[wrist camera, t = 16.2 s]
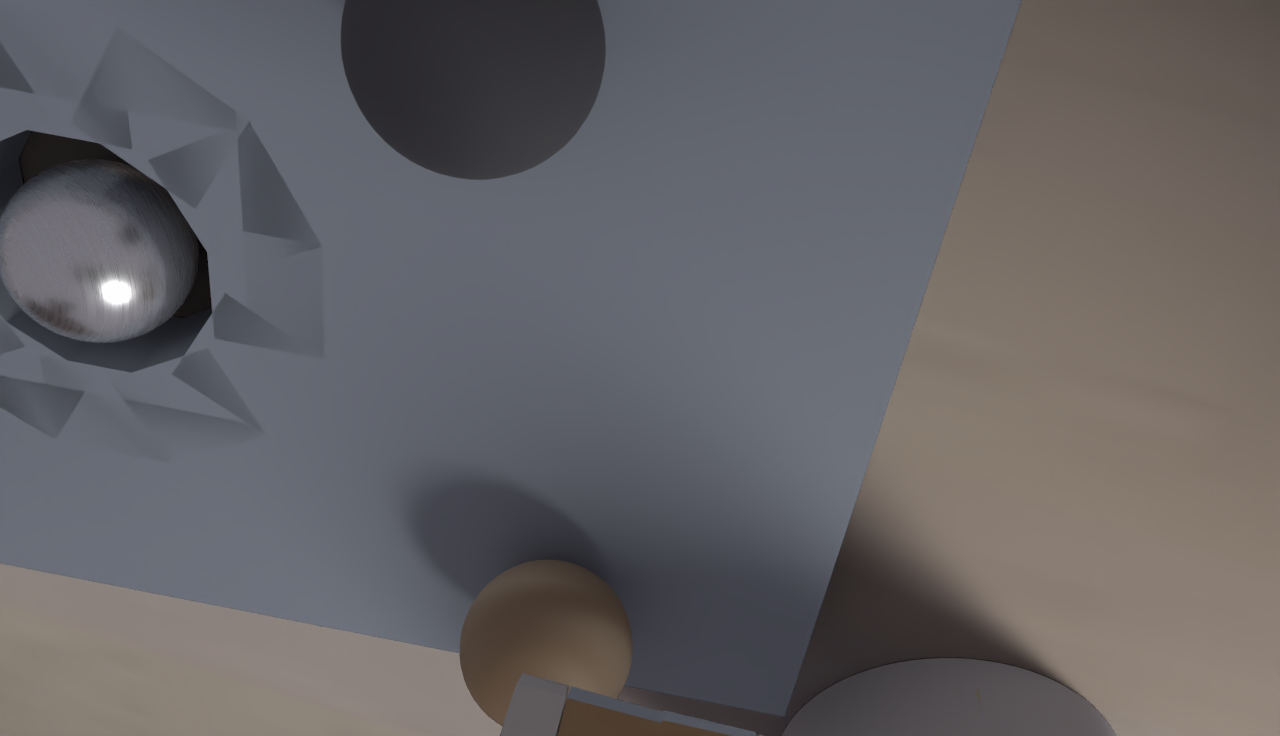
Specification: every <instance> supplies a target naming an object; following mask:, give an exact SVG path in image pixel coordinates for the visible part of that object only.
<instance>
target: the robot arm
mask: <svg viewBox="0 0 1280 736" xmlns="http://www.w3.org/2000/svg"><path fill="white" fill-rule="evenodd" d="M568 691H569V694H568ZM567 696H568V697H567ZM566 700H567V701H566ZM500 736H764V735H760V734H758V735H756V732H753V731H749V730H745V729H741V728H737V727H733V726H728V725H724V724H720V723H716V722H712V721H707V720H703V719H699V718H695V717H691V716H687V715H682V714H678V713H674V712H670V711H666V710H663V711H662V712H661V711H657V710H654V709H650V708H647V707H643V706H640V705H636V704H633V703H629V702H626V701H622V700H619V699H615V698H612V697H608V696H605V695H601V694H597V693H594V692H590V691H587V690H583V689H580V688H576V687H573V686H570V690H569V685H566V684H562V683H558V682H554V681H551V680H547V679H543V678H539V677H535V676H531V675H528V674H524V673H522V675H521V677H520V679H519V681H518V683H517V685H516V687H515V690H514V693H513V696H512V699H511V702H510V705H509V709H508V712H507V715H506V718H505V721H504V724H503V727H502V731H501V734H500Z"/></svg>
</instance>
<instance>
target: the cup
mask: <svg viewBox="0 0 1280 736" xmlns="http://www.w3.org/2000/svg"><path fill="white" fill-rule="evenodd" d="M782 736H1116V734H1115V732H1114V731H1113V729H1112V727H1111V726H1110V724H1109V723H1108V722H1107V720H1106V719H1105V718H1104V717H1103V716H1102V715H1101V713H1100V712H1099V711H1098V710H1097V709H1096V708H1095V707H1093V706H1092V705H1091V704H1090V703H1089V702H1088V701H1087V700H1085V699H1084V698H1082V697H1081V696H1080V695H1078V694H1077V693H1075V692H1074V691H1072V690H1071V689H1069V688H1067V687H1065V686H1064V685H1062V684H1060V683H1058V682H1056V681H1054V680H1052V679H1049V678H1047V677H1045V676H1042V675H1040V674H1037V673H1034V672H1032V671H1029V670H1025V669H1022V668H1018V667H1015V666H1011V665H1006V664H1002V663H996V662H991V661H984V660H975V659H962V658H933V659H920V660H911V661H905V662H898V663H894V664H889V665H884V666H881V667H877V668H873V669H870V670H867V671H864V672H861V673H858V674H856V675H853V676H851V677H848V678H846V679H844V680H842V681H840V682H838V683H836V684H834V685H832V686H831V687H829V688H827V689H825V690H824V691H822V692H821V693H820V694H818V695H817V696H815V697H814V698H813V699H811V700H810V701H809V702H808V703H807V704H805V705H804V706H803V707H802V708H801V709H800V710H799V711H798V712H797V714H796V715H795V716H794V717H793V718H792V720H791V721H790V722H789V724H788V725H787V727H786V729H785V730H784V732H783V734H782Z"/></svg>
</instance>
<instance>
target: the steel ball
mask: <svg viewBox="0 0 1280 736" xmlns="http://www.w3.org/2000/svg"><path fill="white" fill-rule="evenodd" d="M198 263H199V247H198V240H197V236H196V234H195V233H194V231H193V230H192V228H191V226H190V225H189V223H188V222H187V220H186V219H185V217H184V216H183V214H182V212H181V211H180V209H179V208H178V206H177V205H176V203H175V202H174V200H173V199H172V197H171V195H170V194H169V192H168V191H167V189H165V188H164V187H162V186H161V185H159V184H158V183H157V182H155V181H154V180H152V179H151V178H149V177H148V176H146V175H145V174H144V173H142V172H141V171H139V170H138V169H136V168H135V167H133V166H130V165H127V164H124V163H120V162H116V161H111V160H102V159H81V160H75V161H69V162H65V163H61V164H58V165H55V166H52V167H50V168H48V169H46V170H44V171H42V172H40V173H38V174H37V175H35V176H34V177H32V178H31V179H29V180H28V181H27V182H26V183H25V184H23V185H22V186H21V187H20V188H19V189H18V190H17V192H16V193H15V194H14V195H13V196H12V198H11V199H10V200H9V202H8V204H7V206H6V207H5V209H4V211H3V213H2V215H1V218H0V276H1V278H2V281H3V283H4V285H5V287H6V289H7V291H8V292H9V294H10V296H11V297H12V298H13V300H14V301H15V302H16V304H17V305H18V306H19V307H20V308H21V309H22V310H23V311H24V312H25V313H26V314H27V315H28V316H29V317H31V318H32V319H33V320H34V321H36V322H37V323H39V324H40V325H42V326H43V327H45V328H47V329H49V330H51V331H52V332H54V333H57V334H60V335H62V336H65V337H68V338H71V339H75V340H80V341H85V342H95V343H108V342H118V341H124V340H128V339H131V338H135V337H138V336H141V335H143V334H146V333H148V332H150V331H152V330H153V329H155V328H157V327H158V326H160V325H161V324H163V323H164V322H166V321H167V320H168V319H169V318H170V317H172V316H173V315H174V313H175V312H176V311H177V310H178V309H179V308H180V307H181V306H182V304H183V303H184V301H185V300H186V298H187V297H188V295H189V293H190V291H191V289H192V286H193V284H194V281H195V278H196V274H197V270H198Z"/></svg>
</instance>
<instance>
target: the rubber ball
mask: <svg viewBox="0 0 1280 736" xmlns="http://www.w3.org/2000/svg"><path fill="white" fill-rule="evenodd" d="M341 54H342V61H343V66H344V71H345V75H346V78H347V81H348V84H349V87H350V90H351V92H352V94H353V96H354V98H355V101H356V103H357V105H358V107H359V108H360V110H361V112H362V113H363V115H364V117H365V118H366V120H367V121H368V122H369V124H370V125H371V126H372V128H373V129H374V130H375V132H376V133H377V134H378V135H379V136H380V137H381V138H382V139H383V140H384V141H385V142H386V143H387V144H388V145H389V146H391V147H392V148H393V149H394V150H395V151H397V152H398V153H399V154H401V155H402V156H404V157H405V158H407V159H408V160H410V161H411V162H413V163H415V164H417V165H419V166H421V167H423V168H425V169H428V170H431V171H433V172H436V173H439V174H443V175H447V176H451V177H455V178H462V179H470V180H488V179H496V178H503V177H506V176H510V175H514V174H518V173H521V172H524V171H526V170H528V169H531V168H533V167H535V166H537V165H539V164H540V163H542V162H544V161H546V160H547V159H549V158H550V157H552V156H553V155H554V154H555V153H557V152H558V151H559V150H560V149H562V148H563V147H564V146H565V145H566V144H567V143H568V142H569V141H570V140H571V139H572V138H573V137H574V136H575V134H576V133H577V132H578V130H579V129H580V127H581V126H582V124H583V123H584V122H585V120H586V119H587V117H588V115H589V113H590V112H591V110H592V108H593V106H594V104H595V101H596V98H597V95H598V92H599V90H600V86H601V82H602V78H603V73H604V67H605V55H606V43H605V31H604V25H603V20H602V15H601V11H600V8H599V5H598V2H597V0H346V1H345V4H344V9H343V15H342V23H341Z"/></svg>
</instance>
